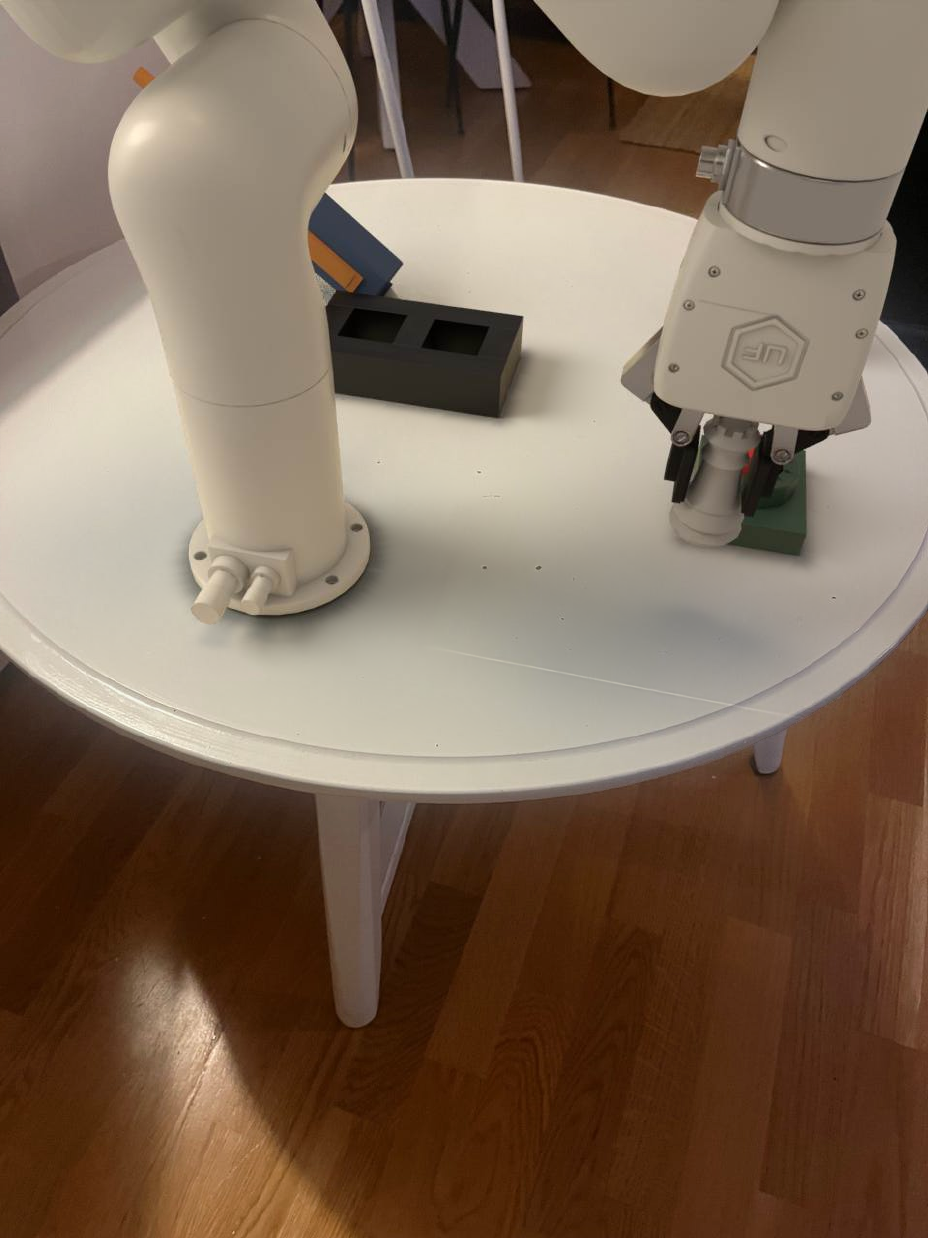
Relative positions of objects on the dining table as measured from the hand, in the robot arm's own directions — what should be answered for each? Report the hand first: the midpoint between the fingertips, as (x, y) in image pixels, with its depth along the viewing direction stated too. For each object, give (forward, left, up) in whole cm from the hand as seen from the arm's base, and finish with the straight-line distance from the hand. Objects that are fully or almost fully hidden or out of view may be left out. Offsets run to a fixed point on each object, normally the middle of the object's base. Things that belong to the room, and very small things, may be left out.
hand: (713, 493), depth 58 cm
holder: (+24, +25, -11) cm, 36 cm away
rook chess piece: (0, 0, -3) cm, 3 cm away
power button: (+13, -4, -7) cm, 15 cm away
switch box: (+13, -4, -11) cm, 17 cm away
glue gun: (+34, +40, -11) cm, 54 cm away
